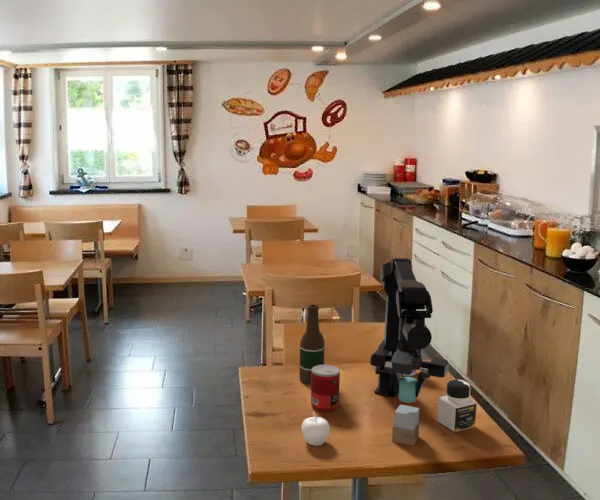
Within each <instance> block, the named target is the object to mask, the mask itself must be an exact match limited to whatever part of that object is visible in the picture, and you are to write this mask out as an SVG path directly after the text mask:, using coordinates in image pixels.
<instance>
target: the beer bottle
mask: <svg viewBox="0 0 600 500" xmlns="http://www.w3.org/2000/svg"><path fill="white" fill-rule="evenodd" d="M306 309H307V319H306V326H305V332H304V333H303V334H302V337H301V338H300V343H299V376H298V377H299V381H300V380H301V382H302V383H304V384H308V385H311V374H312V368H313V367H314V366H317V365H325V353H326V352H325V349H326V347H325V338H324V335H323V334H322V332H321V331H320V325H319V324H320V322H319V321H320V320H319V310H320V306H319V305H316V304H309V305H308V306H307V307H306Z"/></svg>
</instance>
